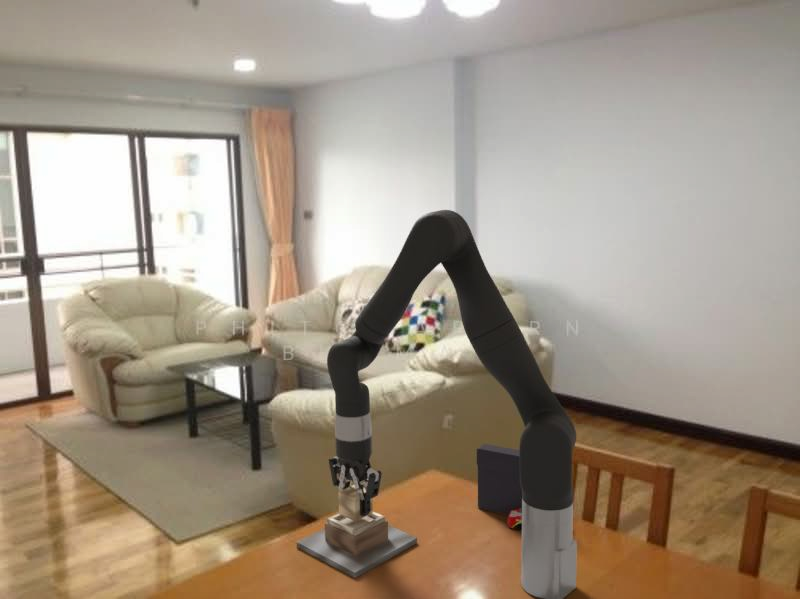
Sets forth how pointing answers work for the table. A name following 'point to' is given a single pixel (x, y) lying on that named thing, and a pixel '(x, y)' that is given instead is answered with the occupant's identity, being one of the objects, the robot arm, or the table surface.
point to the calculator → (498, 479)
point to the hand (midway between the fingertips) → (355, 510)
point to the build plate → (361, 559)
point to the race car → (515, 519)
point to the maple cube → (351, 503)
